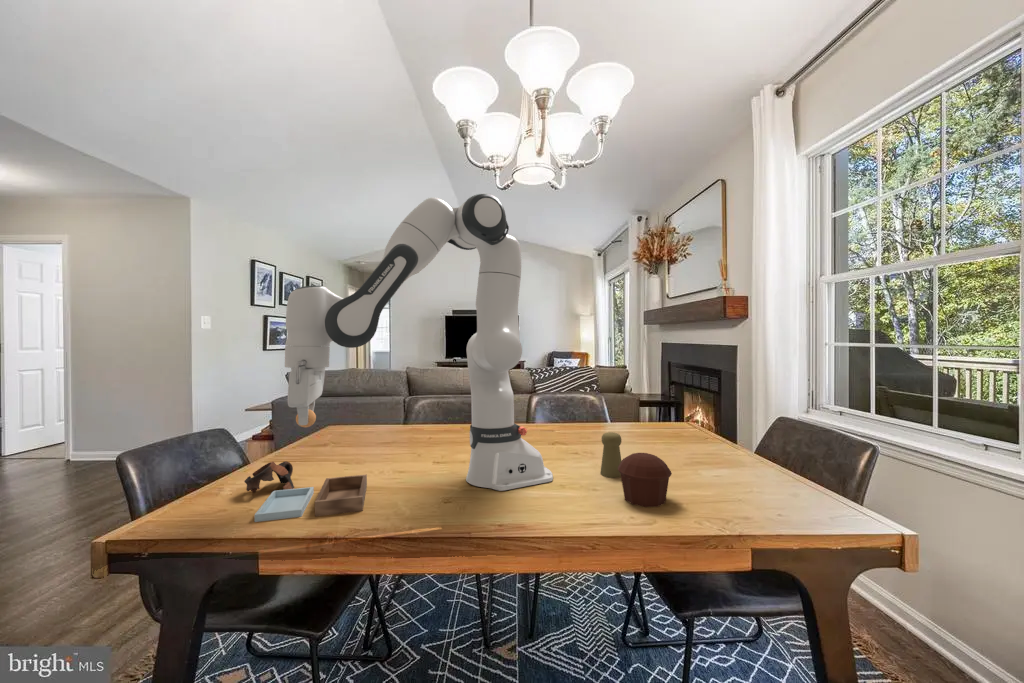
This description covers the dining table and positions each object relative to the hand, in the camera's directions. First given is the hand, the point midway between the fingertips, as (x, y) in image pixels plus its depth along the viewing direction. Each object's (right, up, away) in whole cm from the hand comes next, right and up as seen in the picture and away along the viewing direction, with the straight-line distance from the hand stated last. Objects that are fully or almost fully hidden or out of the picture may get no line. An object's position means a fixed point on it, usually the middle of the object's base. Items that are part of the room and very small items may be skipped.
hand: (305, 422), depth 92 cm
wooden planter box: (+7, -19, +2) cm, 20 cm away
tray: (-4, -19, -1) cm, 19 cm away
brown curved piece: (-13, -19, +10) cm, 25 cm away
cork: (+72, -18, +20) cm, 77 cm away
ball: (0, -1, 0) cm, 1 cm away
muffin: (+75, -18, +2) cm, 77 cm away
